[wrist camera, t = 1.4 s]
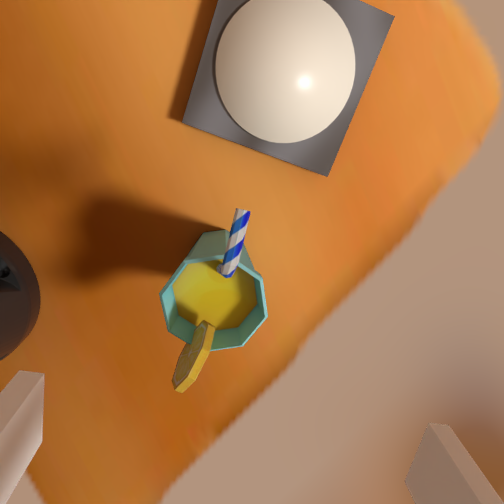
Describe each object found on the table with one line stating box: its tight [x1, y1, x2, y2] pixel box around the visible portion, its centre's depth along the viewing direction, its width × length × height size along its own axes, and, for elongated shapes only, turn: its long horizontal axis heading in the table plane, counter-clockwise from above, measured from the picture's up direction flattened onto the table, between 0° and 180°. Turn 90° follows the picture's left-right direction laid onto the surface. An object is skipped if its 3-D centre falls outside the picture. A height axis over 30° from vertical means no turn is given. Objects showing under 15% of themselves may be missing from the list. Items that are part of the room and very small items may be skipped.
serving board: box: [182, 0, 395, 177], centre depth 32 cm, size 13×13×2 cm
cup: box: [159, 208, 268, 393], centre depth 30 cm, size 14×8×15 cm, turn 165°
